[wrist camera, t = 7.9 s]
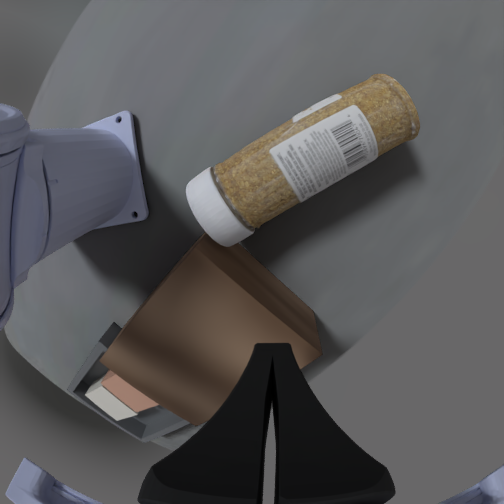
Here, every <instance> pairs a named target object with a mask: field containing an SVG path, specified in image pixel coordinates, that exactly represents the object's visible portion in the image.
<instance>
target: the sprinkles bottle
mask: <svg viewBox="0 0 504 504" xmlns="http://www.w3.org/2000/svg"><path fill="white" fill-rule="evenodd" d="M419 129H420V122H419V117H418V113H417V110H416V108H415V105H414V103H413V102H412V99H411V98H410V96H409V95H408V93H407V92H406V90H405V89H404V88H403V87H402V86H401V85H400V84H399V83H398V82H397V81H396V80H395V79H394V78H392V77H389V76H388V75H385V74H374V75H372V76H371V77H370V78H369V79H368V80H366V81H364V82H361V83H359V84H357V85H356V86H353V87H351V88H349V89H347V90H345V91H343V92H341V93H338V94H335V95H332V96H330V97H328V98H326V99H324V100H322V101H320V102H318V103H317V104H315V105H313V106H311V107H309V108H308V109H306V110H304V111H302V112H300V113H299V114H297V115H295V116H294V117H292V118H291V119H290V120H289V121H287V122H286V123H284V124H282V125H280V126H278V127H277V128H275V129H273V130H272V131H270V132H268V133H267V134H265V135H264V136H262V137H261V138H259V139H257V140H256V141H254V142H252V143H251V144H249V145H247V146H246V147H244V148H243V149H241V150H240V151H239V152H237V153H235V154H234V155H232V156H231V157H230V158H229V159H226V160H225V161H224V162H223V163H218V164H217V165H215V167H209V168H207V169H206V170H204V171H203V172H202V173H200V174H199V175H198V176H196V177H195V178H194V179H192V180H191V181H190V182H189V183H188V184H187V187H186V196H187V200H188V203H189V205H190V208H191V210H192V212H193V214H194V216H195V218H196V219H197V221H198V222H199V224H200V225H201V226H202V228H203V229H204V230H205V232H206V233H207V234H208V235H209V236H210V237H211V238H212V239H213V240H214V241H216V242H217V243H219V244H220V245H222V246H226V247H230V246H232V245H234V244H236V243H238V242H240V241H242V240H243V239H245V238H247V237H248V236H250V235H251V234H253V233H254V230H255V228H259V227H260V226H261V225H262V224H264V223H265V222H266V221H269V220H271V219H272V218H274V217H275V216H277V215H279V214H281V213H283V212H284V211H285V210H288V209H289V208H291V207H293V206H295V205H296V204H298V203H301V202H303V201H305V200H307V199H308V198H310V197H312V196H313V195H315V194H317V193H318V192H320V191H322V190H324V189H325V188H327V187H329V186H331V185H332V184H334V183H336V182H337V181H339V180H341V179H343V178H344V177H346V176H348V175H350V174H351V173H353V172H355V171H357V170H358V169H360V168H362V167H364V166H365V165H367V164H369V163H370V162H372V161H374V160H375V159H376V158H377V157H378V156H380V155H382V154H383V153H385V152H387V151H389V150H391V149H392V148H394V147H396V146H398V145H400V144H401V143H403V142H405V141H410V140H412V139H414V138H416V136H417V135H418V132H419Z"/></svg>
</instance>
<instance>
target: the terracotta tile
mask: <svg viewBox="0 0 504 504" xmlns="http://www.w3.org/2000/svg"><path fill="white" fill-rule="evenodd" d="M101 384H102V385H103V386H104V387H106V388H107V389H108V390H109V391H110V392H112V393H113V394H114V395H115V396H116V397H118V398H119V399H120V400H121V401H123V402H124V403H125V404H126V405H128V406H129V407H130V408H132V409H133V410H134V411H136V412H139V411H142V410H145V409H148V408H151V407H154V406H157V405H159V404H158V403H156V402H155V401H153V400H151V399H150V398H148V397H147V396H145V395H144V394H143V393H141V392H140V391H138V390H137V389H135V388H134V387H132V386H131V385H130V384H128V383H127V382H126V381H124V380H123V379H121V378H120V377H119V376H118V375H116V374H115V373H114V372H112V371H111V370H110V369H109V370H108V372H107V373H106V375H105V377H104V378H103V380H102V382H101Z"/></svg>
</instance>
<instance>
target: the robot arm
mask: <svg viewBox="0 0 504 504" xmlns="http://www.w3.org/2000/svg"><path fill="white" fill-rule="evenodd" d="M120 117H121V118H122V121H121V122H120V123H119V122H118V119H119V118H120ZM134 211H135V212H137V214H138V217H135V215H134ZM148 215H149V211H148V206H147V202H146V197H145V191H144V186H143V181H142V175H141V169H140V163H139V157H138V151H137V144H136V137H135V129H134V121H133V115H132V113H131V112H129V111H123V112H120V113H118V114H115V115H112V116H110V117H107V118H105V119H102V120H100V121H97V122H95V123H92V124H90V125H88V126H85V127H83V128H54V129H31V130H30V125H29V123H28V122H27V121H26V120H25V118H24V117H23V114H22V112H21V111H20V110H18V109H17V108H14V107H12V106H9V105H5V104H1V103H0V331H1V330H2V329H3V327H4V326H5V325H6V323H7V321H8V320H9V318H10V315H11V313H12V310H13V304H14V288H16V287H17V286H18V285H20V284H21V283H22V282H24V281H25V280H27V275H28V271H29V269H30V268H31V267H32V266H33V265H34V264H36V263H37V262H39V261H41V260H42V259H44V258H45V257H47V256H48V255H50V254H52V253H53V252H55V251H57V250H58V249H60V248H61V247H63V246H65V245H66V244H68V243H70V242H72V241H73V240H75V239H77V238H78V237H80V236H82V235H84V234H85V233H87V232H89V231H91V230H94V229H99V228H104V227H109V226H115V225H120V224H126V223H131V222H137V221H143V220H145V219H146V218H147V217H148ZM271 403H272V404H273V416H274V427H275V439H276V473H275V497H274V504H384V503H386V502H387V501H388V500H390V499H391V498H392V497H393V496H394V495H395V486H394V483H393V480H392V478H391V476H390V473H389V471H388V469H387V468H386V467H385V466H384V465H382V464H381V463H379V462H378V461H376V460H375V459H374V458H373V457H371V456H370V455H369V454H367V453H366V452H365V451H364V450H363V449H362V448H360V447H359V446H358V445H357V444H356V443H355V442H354V441H353V440H351V438H350V437H349V436H348V435H347V434H346V433H345V432H344V431H343V430H341V428H340V427H339V426H338V425H337V424H336V423H335V422H334V421H333V419H332V418H331V417H330V416H329V414H328V413H327V412H326V410H325V409H324V408H323V406H322V405H321V404H320V402H319V401H318V400H317V398H316V396H315V395H314V393H313V392H312V390H311V389H310V387H309V385H308V383H307V381H306V380H305V378H304V376H303V374H302V372H301V370H300V368H299V366H298V364H297V361H296V359H295V356H294V354H293V351H292V347H291V344H289V343H257V344H255V345H254V349H253V352H252V355H251V357H250V359H249V362H248V364H247V366H246V368H245V370H244V372H243V373H242V375H241V377H240V379H239V381H238V382H237V384H236V385H235V387H234V388H233V390H232V392H231V393H230V395H229V396H228V397H227V399H226V400H225V402H224V403H223V404H222V405H221V407H220V408H219V409H218V410H217V412H216V413H215V414H214V415H213V416H212V417H211V418H210V420H209V421H208V422H207V423H206V424H205V425H204V426H203V427H202V428H201V429H200V430H199V431H198V432H197V433H196V434H195V435H193V436H192V437H191V438H190V439H189V440H188V441H186V442H185V443H184V444H183V445H182V446H180V447H179V448H178V449H177V450H175V451H174V452H172V453H171V454H170V455H168V456H167V457H165V458H164V459H162V460H161V461H159V462H157V463H156V464H154V465H153V466H152V467H151V469H150V470H149V472H148V473H147V475H146V477H145V479H144V481H143V483H142V486H141V489H140V493H139V496H138V502H139V503H140V504H262V501H263V482H264V462H265V460H264V459H265V447H266V446H265V445H266V438H267V431H268V424H269V418H270V410H271ZM6 496H7V497H8V498H9V499H10V500H12V501H13V502H14V503H15V504H103V503H101V502H99V501H96V500H94V499H92V498H90V497H88V496H86V495H84V494H82V493H80V492H78V491H76V490H74V489H72V488H70V487H68V486H66V485H65V484H63V483H61V482H59V481H58V480H56V479H55V478H54V477H53V476H51V475H50V474H49V473H48V472H46V471H45V470H43V469H42V468H41V467H39V466H37V465H36V464H35V463H33V462H32V461H30V460H29V459H27V458H24V459H23V461H22V463H21V464H20V466H19V468H18V470H17V472H16V474H15V476H14V478H13V480H12V482H11V483H10V485H9V487H8V489H7V491H6ZM438 504H504V465H502V466H501V467H499V468H498V469H496V470H495V471H493V472H492V473H490V474H489V475H487V476H486V477H485V478H483V479H482V480H481V481H480V482H479V483H477V484H476V485H474V486H472V487H471V488H468V489H467V490H465V491H463V492H461V493H459V494H457V495H455V496H453V497H451V498H449V499H447V500H445V501H442V502H440V503H438Z"/></svg>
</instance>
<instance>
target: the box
mask: <svg viewBox="0 0 504 504" xmlns="http://www.w3.org/2000/svg"><path fill="white" fill-rule="evenodd" d="M121 330H122V329H121V328H120V327H119V326H118V325H117V324H115V323H114V322H113V324H112V325H111V326H110V327H109V329H108V330H107V331H106V332H105V334H104V335H103V336H102V338H101V339H100V340H99V342H98V343H97V344H96V346H95V347H94V349H93V350H92V352H91V353H90V355H89V356H88V358H87V359H86V361H85V362H84V364H83V365H82V367H81V368H80V370H79V371H78V373H77V374H76V376H75V377H74V379H73V380H72V382H71V383H70V385H69V387H68V388H67V390H68V391H69V392H70V393H71V394H73V395H74V396H75V397H76V398H78V399H79V400H80V401H81V402H83V403H84V404H85V405H87V406H88V407H89V408H91V409H92V410H93V411H95V412H96V413H98V414H99V415H101V416H102V417H103V418H105V419H107V420H108V421H109V422H111V423H112V424H114V425H115V426H117V427H118V428H120V429H121V430H123V431H125V432H126V433H128V434H130V435H131V436H133V437H135V438H136V439H138V440H140V441H141V442H143V443H145V442H148V441H150V440H153V439H155V438H158V437H160V436H163V435H165V434H167V433H170V432H172V431H174V430H177V429H179V428H181V427H183V426H185V425H188V424H190V422H188V421H186V420H184V419H182V418H181V417H179V416H177V415H176V414H174V413H172V412H171V411H169V410H167V409H166V408H164V407H162V406H161V405H157V406H154V407H151V408H148V409H145V410H142V411H139V413H138V415H135V416H132V417H128V418H125V419H121V420H118V421H117V420H115V419H114V418H113V417H111V416H110V415H109V414H107V413H106V412H105V411H103V410H102V409H101V408H100V407H98V406H97V405H96V404H95V403H94V402H92V401H91V400H90V399H89V398H88V397H87V396H85V394H86V392H87V391H88V389H89V388H90V386H91V384H92V383H93V381H95V380H96V379H98V378H100V377H102V376H103V375H105V374H106V373H107V372H108V370H109V369H108V368H107V367H106V366H105V365H103V364H102V363H101V362H100V359H101V358H102V356H103V355H104V354H105V352H106V351H107V349H108V348H109V346H110V345H111V344H112V342H113V341H114V339H115V338H116V337H117V335H118V334H119V332H120V331H121Z"/></svg>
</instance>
